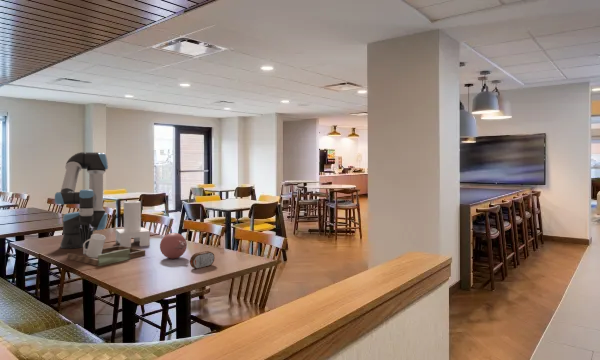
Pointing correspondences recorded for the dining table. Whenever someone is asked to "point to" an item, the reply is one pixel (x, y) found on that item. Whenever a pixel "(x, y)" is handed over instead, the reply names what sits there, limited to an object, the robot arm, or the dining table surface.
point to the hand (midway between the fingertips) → (85, 253)
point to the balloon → (173, 245)
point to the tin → (202, 259)
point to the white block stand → (132, 226)
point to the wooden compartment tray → (109, 255)
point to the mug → (95, 245)
